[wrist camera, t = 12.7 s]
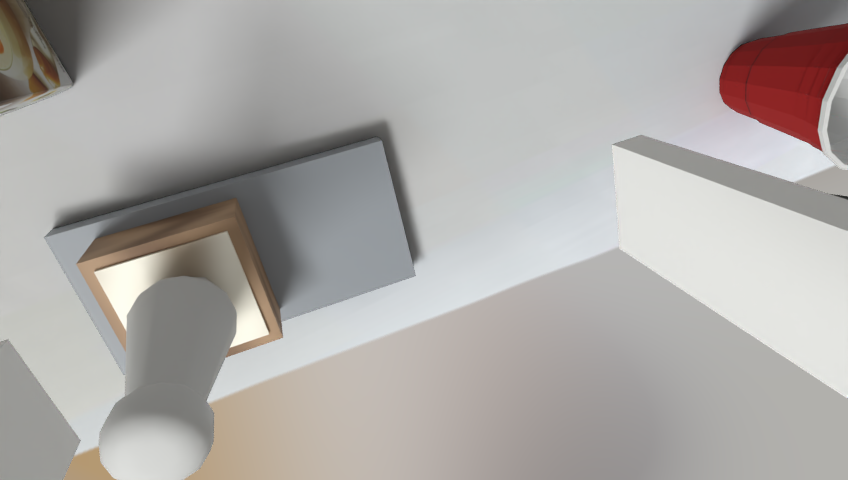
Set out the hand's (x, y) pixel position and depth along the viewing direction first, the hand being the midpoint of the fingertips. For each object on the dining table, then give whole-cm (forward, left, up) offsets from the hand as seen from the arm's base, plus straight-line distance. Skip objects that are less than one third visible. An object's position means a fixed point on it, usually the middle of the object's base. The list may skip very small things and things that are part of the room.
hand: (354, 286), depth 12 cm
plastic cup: (-38, -7, -27) cm, 47 cm away
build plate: (+2, +10, -27) cm, 29 cm away
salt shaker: (+5, +11, -22) cm, 25 cm away
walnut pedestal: (+5, +12, -26) cm, 29 cm away
